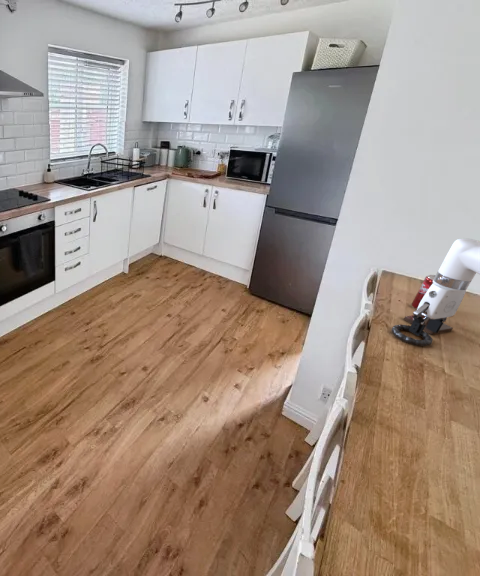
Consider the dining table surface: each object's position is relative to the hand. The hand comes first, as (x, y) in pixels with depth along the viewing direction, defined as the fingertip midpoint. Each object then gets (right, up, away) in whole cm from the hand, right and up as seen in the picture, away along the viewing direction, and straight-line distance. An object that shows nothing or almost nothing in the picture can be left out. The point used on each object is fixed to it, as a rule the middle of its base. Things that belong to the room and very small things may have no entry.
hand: (422, 331), depth 115 cm
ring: (-5, -1, -1) cm, 5 cm away
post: (+7, +1, +6) cm, 9 cm away
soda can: (+14, +6, +16) cm, 22 cm away
